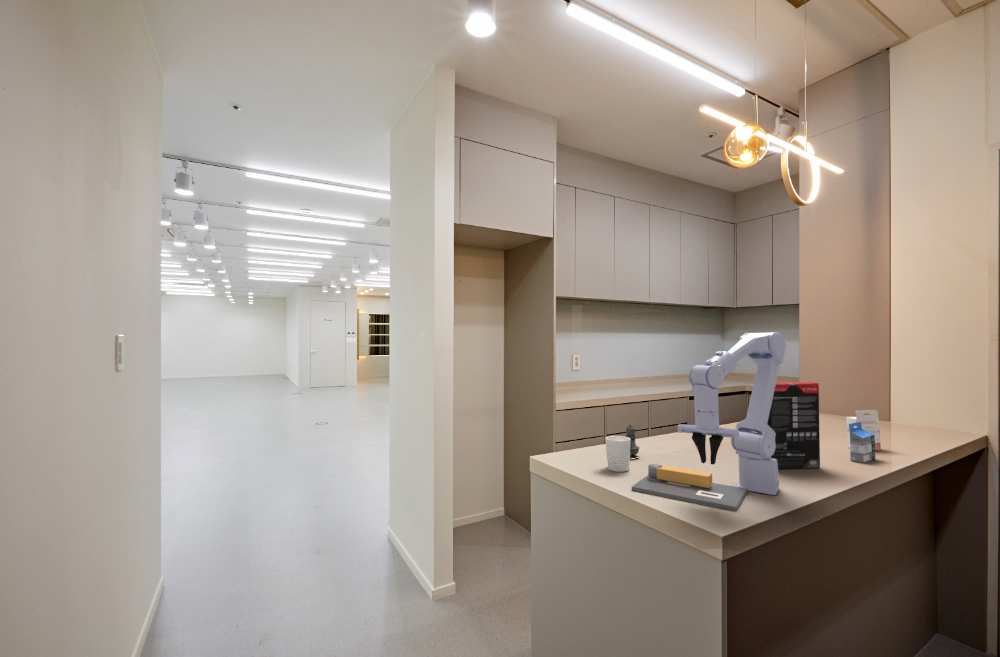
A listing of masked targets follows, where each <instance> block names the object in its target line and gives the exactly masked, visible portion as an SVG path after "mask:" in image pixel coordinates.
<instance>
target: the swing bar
mask: <svg viewBox="0 0 1000 657" xmlns="http://www.w3.org/2000/svg"><path fill="white" fill-rule="evenodd" d="M647 467H648V468H647V469H648V470H647V471H648V474H647V475H648V476H649V477H651V478H657V479H661V480H667V481H673V482H678V483H684V484H690V485H695V486H701V487H706V488H709V487H710V486H711V485H712V483H713V473H712V472H709V471H708V472H707V471H700V470H693V469H689V468H681V467H676V466H675V467H674V466H670V465H662V464H657V463H651V464H648V466H647Z"/></svg>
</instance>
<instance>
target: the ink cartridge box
mask: <svg viewBox="0 0 1000 657" xmlns="http://www.w3.org/2000/svg"><path fill="white" fill-rule="evenodd" d="M866 413H867V415H866ZM864 414H865V415H864ZM845 420H846V434H847V435H846V436H847V437H846V438H847V448H848V449H850V430H849V424H852V423H856V422H861V427H862V429H863V430H865V431H867V432H869V433H871V434H873V435H875V452H876V451H882V447H881V446H882V445H881V431H880V418H879V412H878V410H877V409H864V410H863V409H861V410H858V409H857V410H855V416H846V417H845ZM854 428H857V426H856V425H855V426H854Z"/></svg>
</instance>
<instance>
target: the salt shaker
mask: <svg viewBox="0 0 1000 657" xmlns="http://www.w3.org/2000/svg"><path fill="white" fill-rule="evenodd" d="M625 430H626V431H625V432H626V433H625V434H626V435H625V437H629V438H630V458H636V457H639V456H638V455H637V454H638V453H639V451H640V447H639V446H638V445H637V444H636V438H637V436H636V434H635V433H636V432H635V431H636V429H635V427H634V426H632V424H631V423H629V425H628V426H627V427H626V429H625Z"/></svg>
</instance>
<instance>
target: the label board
mask: <svg viewBox="0 0 1000 657" xmlns="http://www.w3.org/2000/svg"><path fill="white" fill-rule="evenodd" d="M631 491H634V492H638V493H642V494H643V493H644V494H647V495H654V496H660V497H664V498H669V499H673V500H677V501H682V502H689V503H693V504H698V505H704V506H709V507H713V508H718V509H722V510H728V511H733V512H737V510H738V509H739V507H740V506H741V503H742V502H743V500H744V499H745V497H746V495H747V494H748V491H747V489H746V488H740V487H736V486H733V485H727V484H723V483H715V482H712V485H711V486H710V487H709V488H706V487H701V486H695V485H690V484H684V483H678V482H673V481H667V480H661V479H657V478H651V477H649V476H648V474H647V475H645V477H643V478H641V479H640V480H639V481H638V482H636V483H635V484H633V485H632V486H631Z"/></svg>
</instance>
